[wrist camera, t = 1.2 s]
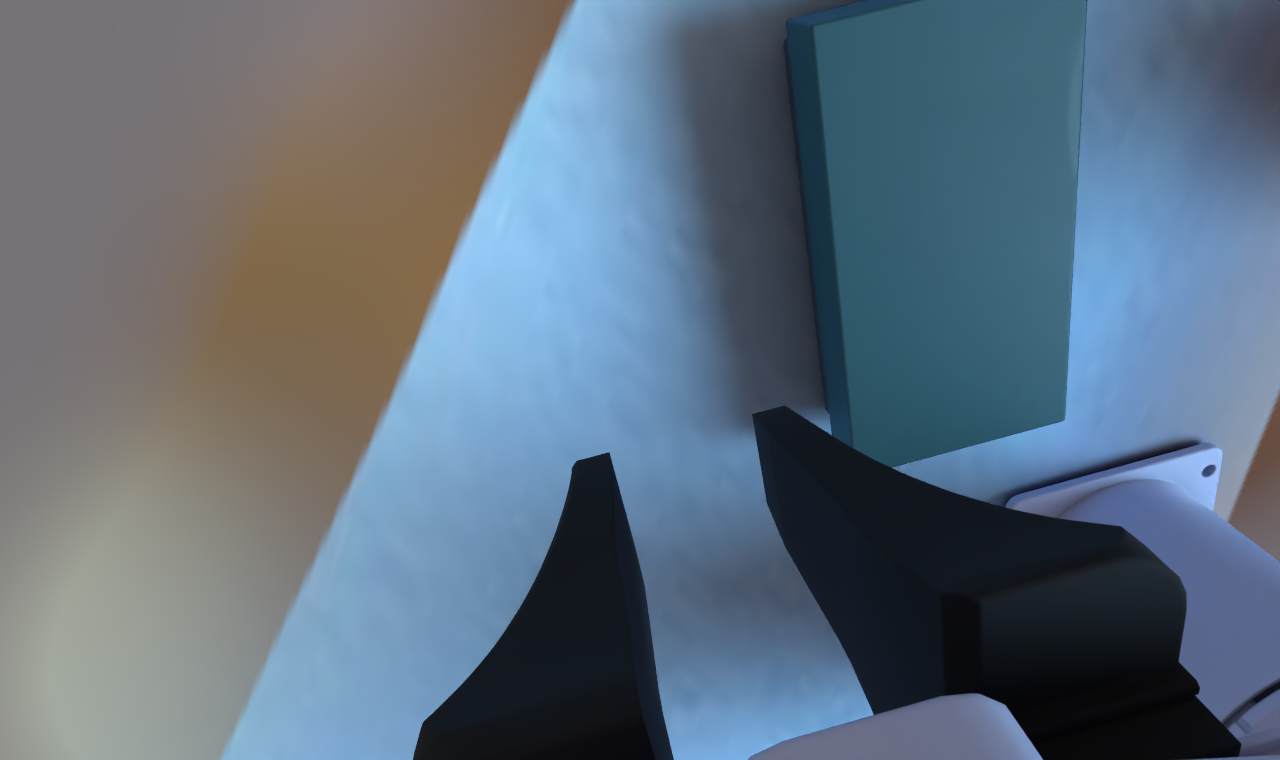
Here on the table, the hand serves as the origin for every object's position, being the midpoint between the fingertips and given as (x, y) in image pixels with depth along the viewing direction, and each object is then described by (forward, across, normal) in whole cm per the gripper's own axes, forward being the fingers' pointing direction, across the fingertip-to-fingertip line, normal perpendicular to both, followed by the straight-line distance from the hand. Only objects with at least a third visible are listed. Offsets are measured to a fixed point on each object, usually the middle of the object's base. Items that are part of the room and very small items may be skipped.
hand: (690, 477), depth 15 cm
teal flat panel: (+9, -8, 0) cm, 13 cm away
